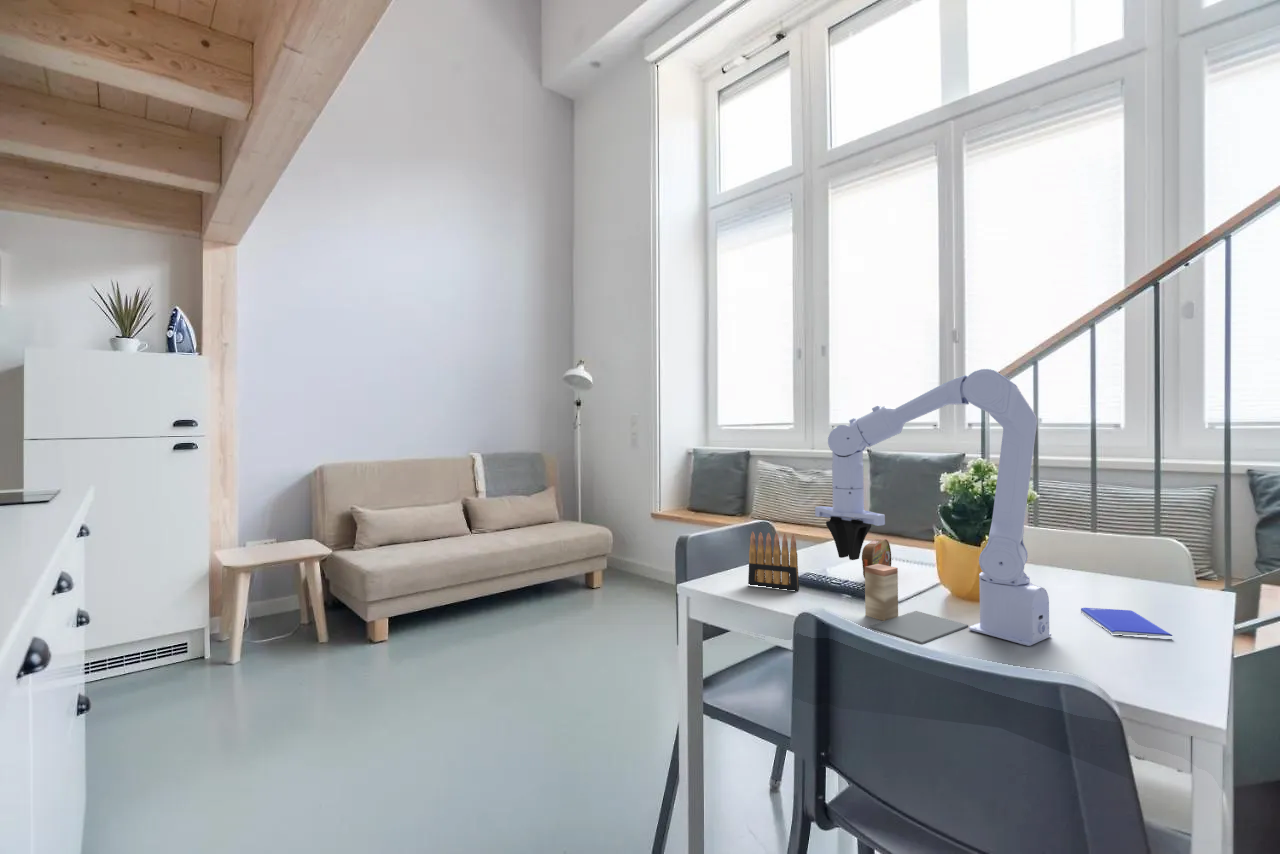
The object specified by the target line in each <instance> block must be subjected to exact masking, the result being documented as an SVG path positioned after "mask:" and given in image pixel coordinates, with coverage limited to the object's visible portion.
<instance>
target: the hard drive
mask: <svg viewBox="0 0 1280 854" xmlns="http://www.w3.org/2000/svg"><path fill="white" fill-rule="evenodd" d="M1080 613H1081V614H1082V613H1083V614H1084V615H1083V614H1082V615H1083V616H1085V615H1086V616H1087V617H1089V618H1090V619H1092V620H1094V621H1095V622H1096V623H1098V624H1100V625H1101V626H1103V627H1104V628H1105V629H1107V630H1108V631H1110V632H1111V633H1112V634H1122V635H1147V636H1173V634H1171V633H1170V632H1168V631H1166V630H1165V629H1163V628H1161V627H1160V626H1158V625H1156V624H1155V623H1153V622H1151V621H1150V620H1148V619H1147V618H1145V617H1143V616H1141V615H1140V614H1139V613H1137V612H1136V611H1133V610H1129V609H1115V608H1113V609H1112V608H1095V607H1081V608H1080ZM1086 616H1085V617H1086ZM1087 617H1086V618H1087ZM1089 618H1088V619H1089ZM1090 619H1089V620H1090ZM1092 620H1091V621H1092ZM1096 623H1095V624H1096Z"/></svg>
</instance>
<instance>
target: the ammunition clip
mask: <svg viewBox="0 0 1280 854" xmlns="http://www.w3.org/2000/svg"><path fill="white" fill-rule="evenodd" d="M749 539H750V540H749V551H748V555H749V556H748V557H749V558H748V559H749V560H748V579H747V580H748V583H747V585H748V584H750V585H758V586H766V587H772V588H779V589H787V590H795V591H797V592H799V590H800V583H799V578H800V577H799V566H798V560H799V559H798V551H797V540H796V535H795V534H792V535H791V539H790V549H789V546H788V545H789V541H788V537H787V534H786V533H784V534H783V536H782V541H781V546H782V547H781V546H780V539H779V534H778V533H777V532H775V535H774V538H773V547H772V537H771V534H770V532H767V534H766V537H765V545H764V536H763V533H762V532H761V531H760V532H759V533H758V538H757V542H756V535H755V533H754V531H751V534H750V537H749ZM756 544H757V545H756ZM764 546H765V547H764ZM780 547H781V548H780ZM789 551H790V552H789ZM795 591H794V592H795Z"/></svg>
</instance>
